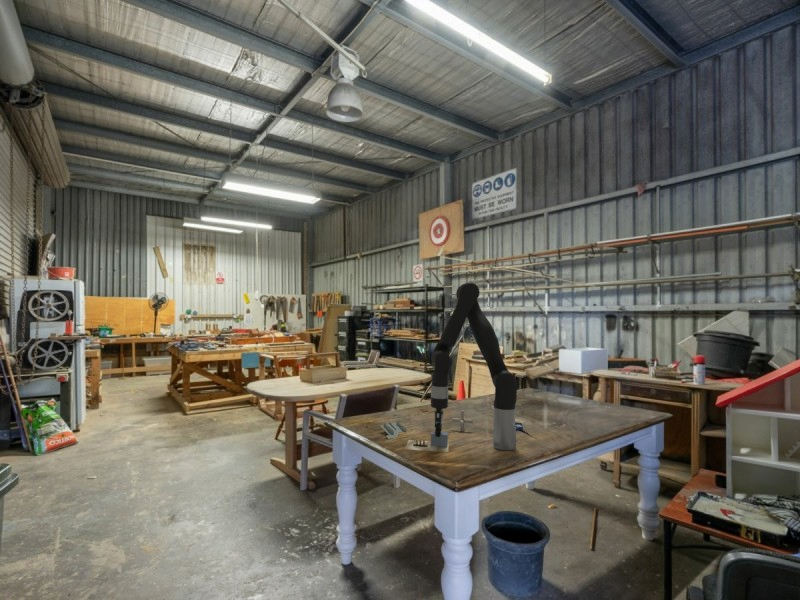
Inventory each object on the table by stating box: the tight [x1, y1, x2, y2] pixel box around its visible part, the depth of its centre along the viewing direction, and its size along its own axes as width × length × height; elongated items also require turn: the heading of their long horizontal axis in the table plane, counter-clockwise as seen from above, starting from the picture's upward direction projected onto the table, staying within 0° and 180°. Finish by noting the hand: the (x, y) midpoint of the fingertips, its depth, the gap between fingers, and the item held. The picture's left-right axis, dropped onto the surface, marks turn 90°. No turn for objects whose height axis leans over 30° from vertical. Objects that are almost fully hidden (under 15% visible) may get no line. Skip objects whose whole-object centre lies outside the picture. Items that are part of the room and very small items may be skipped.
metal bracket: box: [379, 420, 408, 440], centre depth 192 cm, size 14×6×15 cm
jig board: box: [404, 439, 450, 453], centre depth 171 cm, size 18×13×4 cm
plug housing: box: [430, 430, 449, 447], centre depth 172 cm, size 7×4×5 cm, turn 81°
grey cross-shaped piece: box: [451, 410, 474, 432], centre depth 199 cm, size 10×10×10 cm
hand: (438, 433), depth 173 cm, fingers open, 8 cm apart
